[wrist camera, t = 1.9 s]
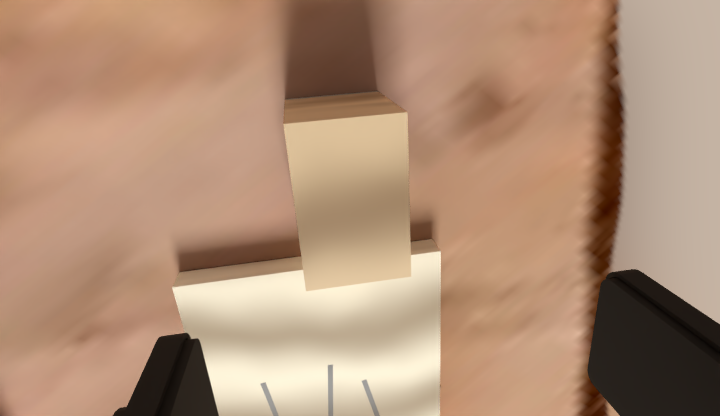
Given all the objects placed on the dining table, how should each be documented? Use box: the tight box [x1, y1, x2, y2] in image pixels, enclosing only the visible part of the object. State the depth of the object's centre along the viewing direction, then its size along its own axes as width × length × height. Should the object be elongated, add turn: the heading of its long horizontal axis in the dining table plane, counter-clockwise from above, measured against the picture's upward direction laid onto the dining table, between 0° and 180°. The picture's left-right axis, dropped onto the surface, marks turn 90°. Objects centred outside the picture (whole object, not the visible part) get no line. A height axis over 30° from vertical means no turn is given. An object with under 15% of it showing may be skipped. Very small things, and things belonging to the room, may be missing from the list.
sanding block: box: [283, 91, 411, 291], centre depth 20 cm, size 7×4×6 cm, turn 4°
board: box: [172, 239, 441, 416], centre depth 27 cm, size 20×14×2 cm
